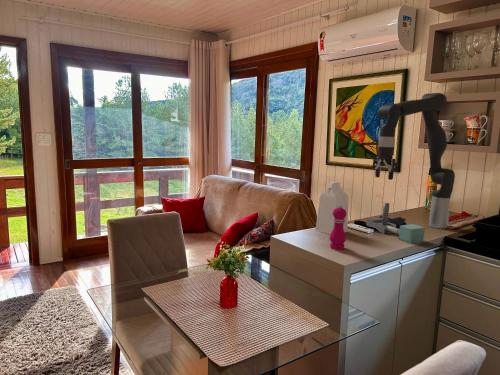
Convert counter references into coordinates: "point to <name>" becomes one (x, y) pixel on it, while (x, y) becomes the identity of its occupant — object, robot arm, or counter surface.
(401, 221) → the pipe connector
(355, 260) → the counter surface
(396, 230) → the grey piece
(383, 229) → the grey grooved block
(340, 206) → the pepper mill
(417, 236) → the teal block
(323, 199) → the milk
